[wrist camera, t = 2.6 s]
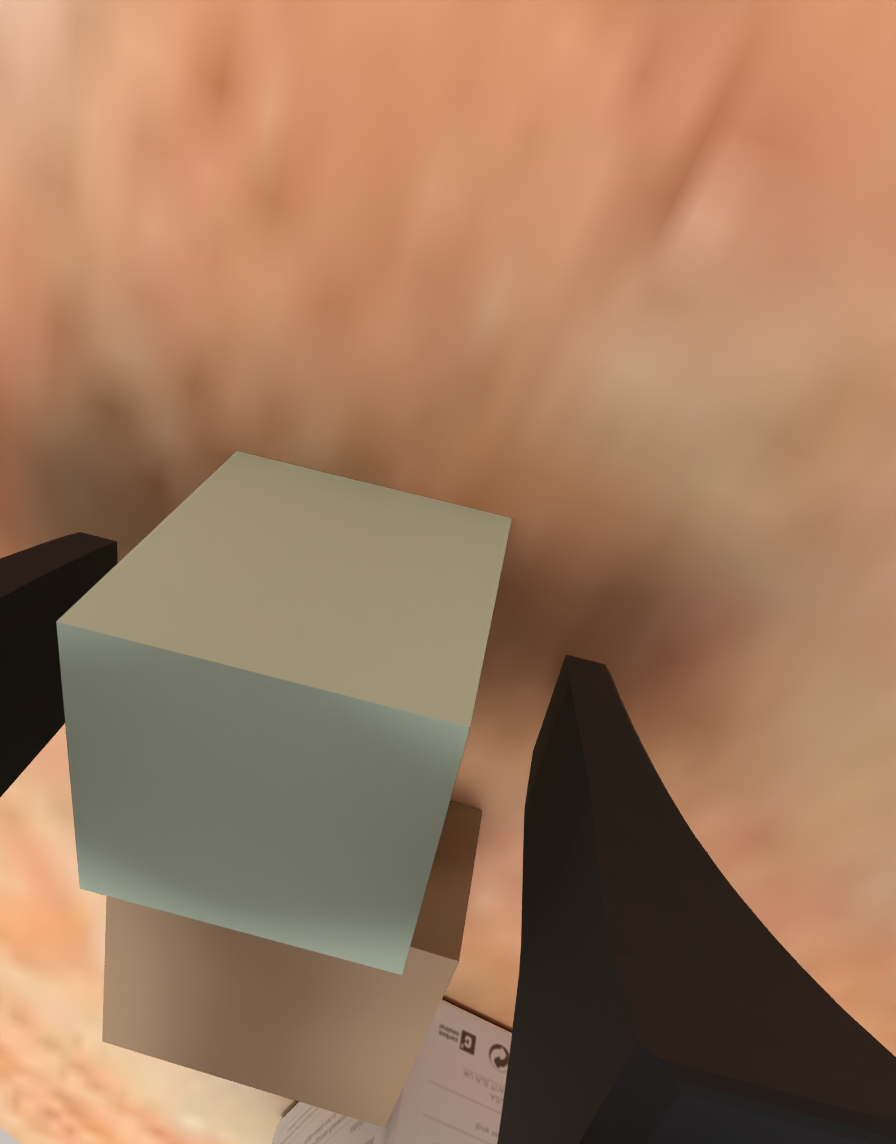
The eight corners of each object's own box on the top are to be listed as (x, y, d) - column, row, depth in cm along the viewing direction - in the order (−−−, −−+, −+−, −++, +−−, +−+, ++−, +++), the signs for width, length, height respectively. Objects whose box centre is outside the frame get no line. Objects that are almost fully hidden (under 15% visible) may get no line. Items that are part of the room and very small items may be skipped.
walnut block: (483, 802, 16) (459, 961, 13) (417, 968, 19) (384, 1127, 16) (198, 715, 16) (108, 853, 13) (179, 895, 19) (102, 1041, 16)
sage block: (512, 516, 12) (470, 727, 8) (457, 725, 15) (402, 975, 10) (238, 449, 13) (57, 622, 8) (226, 667, 15) (80, 887, 11)
